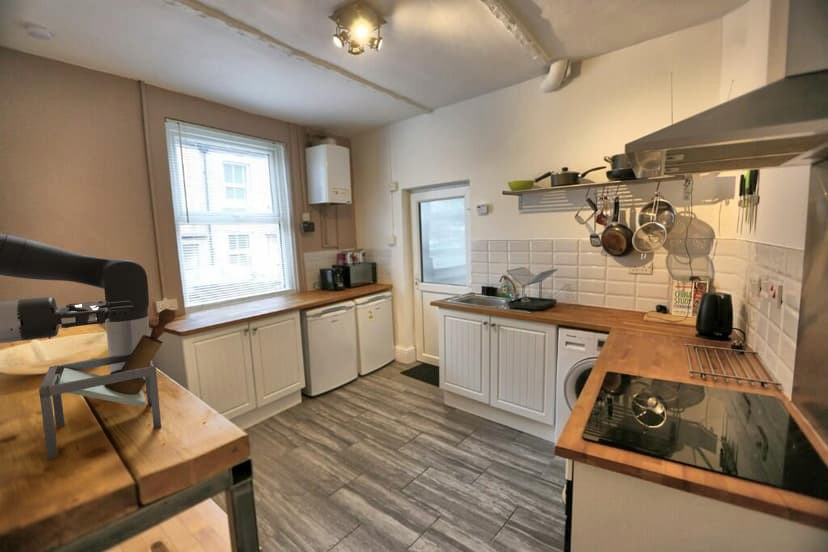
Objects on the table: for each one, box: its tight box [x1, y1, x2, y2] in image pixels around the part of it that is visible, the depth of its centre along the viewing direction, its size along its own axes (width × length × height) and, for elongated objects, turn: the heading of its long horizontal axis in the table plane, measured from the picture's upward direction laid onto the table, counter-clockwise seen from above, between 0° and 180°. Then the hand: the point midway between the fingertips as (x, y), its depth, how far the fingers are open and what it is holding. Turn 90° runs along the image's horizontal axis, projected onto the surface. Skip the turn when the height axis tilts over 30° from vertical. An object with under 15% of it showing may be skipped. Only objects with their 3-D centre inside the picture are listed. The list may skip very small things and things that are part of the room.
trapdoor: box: [58, 368, 147, 408], centre depth 73 cm, size 12×14×1 cm
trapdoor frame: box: [38, 353, 162, 461], centre depth 73 cm, size 15×16×13 cm
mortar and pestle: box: [106, 308, 176, 394], centre depth 77 cm, size 7×6×18 cm
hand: (132, 308), depth 75 cm, fingers open, 8 cm apart
